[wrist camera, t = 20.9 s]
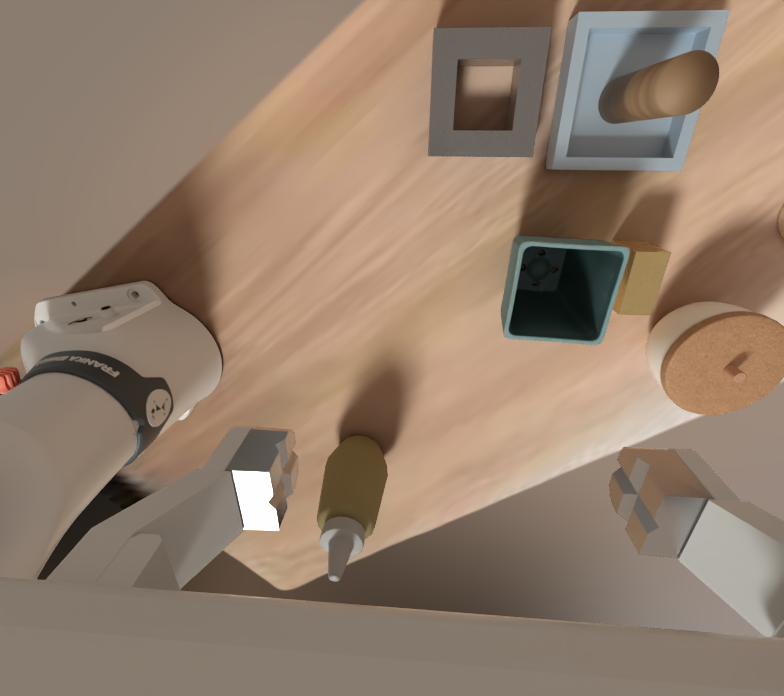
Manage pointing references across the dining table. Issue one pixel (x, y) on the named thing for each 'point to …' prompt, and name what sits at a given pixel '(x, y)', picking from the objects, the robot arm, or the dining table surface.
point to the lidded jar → (716, 356)
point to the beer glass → (781, 222)
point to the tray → (615, 59)
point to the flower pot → (561, 289)
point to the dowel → (661, 89)
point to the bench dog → (640, 278)
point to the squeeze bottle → (350, 499)
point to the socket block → (529, 61)
